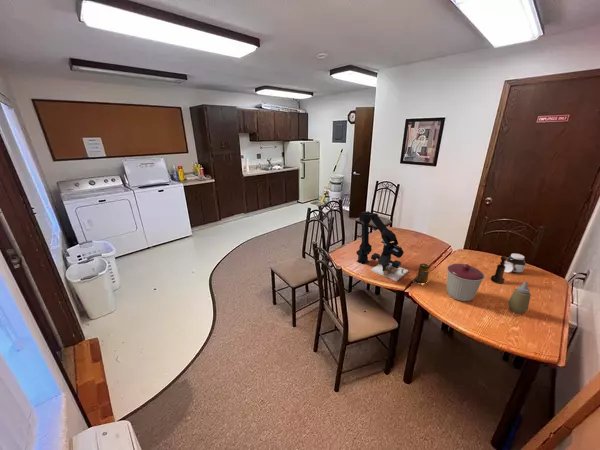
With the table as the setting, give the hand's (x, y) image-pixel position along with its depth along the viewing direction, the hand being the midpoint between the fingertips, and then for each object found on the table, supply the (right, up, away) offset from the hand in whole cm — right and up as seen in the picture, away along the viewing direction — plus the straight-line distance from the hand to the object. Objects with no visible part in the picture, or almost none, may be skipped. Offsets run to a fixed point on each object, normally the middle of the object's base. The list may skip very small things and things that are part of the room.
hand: (383, 271), depth 164 cm
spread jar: (+89, -1, +2) cm, 89 cm away
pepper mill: (+71, -5, -8) cm, 71 cm away
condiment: (+22, -6, -7) cm, 24 cm away
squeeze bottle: (+60, -15, -34) cm, 70 cm away
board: (+6, -1, +6) cm, 9 cm away
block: (+4, -1, +3) cm, 6 cm away
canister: (+38, -11, -21) cm, 44 cm away
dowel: (+13, -2, +1) cm, 13 cm away
